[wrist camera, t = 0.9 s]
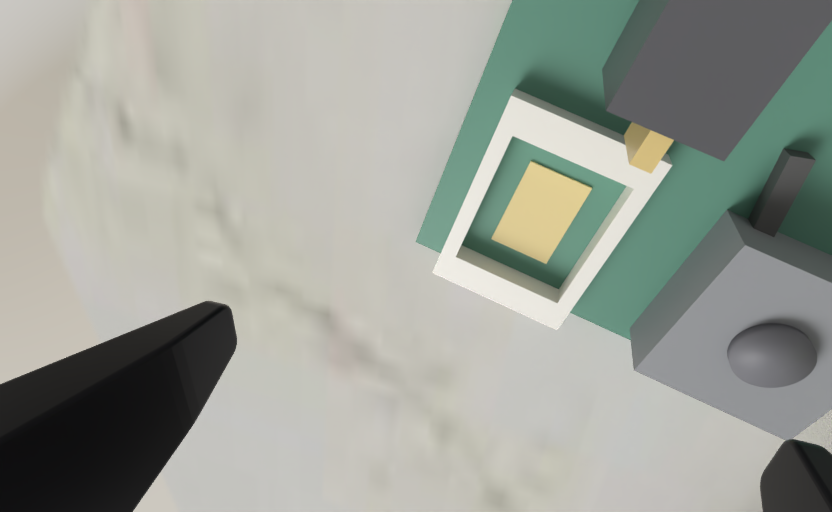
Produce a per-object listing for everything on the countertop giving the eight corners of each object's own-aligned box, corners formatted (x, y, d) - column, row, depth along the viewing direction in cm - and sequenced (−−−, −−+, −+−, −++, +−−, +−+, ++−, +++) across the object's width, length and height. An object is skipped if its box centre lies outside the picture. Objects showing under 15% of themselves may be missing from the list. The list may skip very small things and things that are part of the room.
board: (1143, 66, 13) (1307, 101, 10) (759, 396, 21) (787, 469, 18) (578, -158, 14) (575, -187, 11) (418, 240, 22) (391, 285, 19)
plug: (781, -30, 14) (862, -20, 10) (670, 135, 17) (697, 196, 12) (677, -72, 14) (714, -80, 10) (586, 98, 17) (584, 147, 13)
